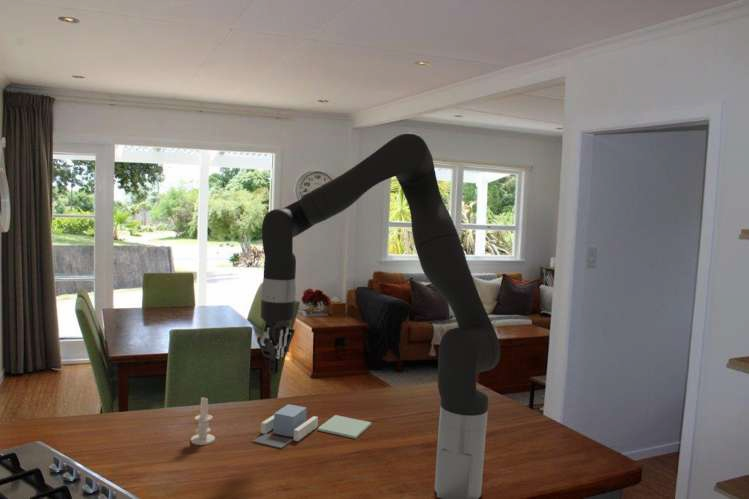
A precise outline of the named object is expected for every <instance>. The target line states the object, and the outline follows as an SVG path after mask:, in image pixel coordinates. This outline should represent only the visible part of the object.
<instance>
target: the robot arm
mask: <svg viewBox="0 0 749 499" xmlns="http://www.w3.org/2000/svg"><path fill="white" fill-rule="evenodd" d="M425 141H426V140H424V138H423V137H421V136H420V135H418V134H417V133H414V132H404V133H403V132H402V133H400V134H398V135H397V136H394V137H393V138H391V139H390V140H389V141H387V142H386V143H384V144H383V145H382V146H381V147H380V148H378V149H377V150H376V151H375V152H373V153H372V154H370V155H368V156H367V157H366V158H364V159H362V161H360V162H359V163H357V164H356V165H355V166H353V167H351V168H350V169H348V170H346V171H345V172H344V173H342V174H341V175H340V174H339V176H337V177H335V178H333V179H331V180H329V181H328V182H326V183H324V184H322V185H320V186H317V187H316V188H314V189H313V190H310V191H308V192H307V193H306V194H304V195H303V196H302V197H301V198H300V199H299V200H297V201H294V202H292V203H290V204H289V205H286V206H284V207H282V208H275V209H271V210H269V211H268V212H267V213H266V214H265V216H264V218H263V221H262V223H261V238H262V239H261V240H262V250H263V253H264V254H263V255H264V262H263V280H262V284H261V298H260V299H261V300H260V318H261V319H262V320H263V321H264V322H265V323H264V328H263V332H264V333H263V335H262V336H258V337H257V340H256V342H257V344H258V346H259V348H260V351H261V353H262V355H263V357H266V358H269V363H268V364H269V366H268V373H269V374H270V375H274V376H277V375H279V374H281V373H282V372H281V370H282V358H283V357H284V353H285V354H286V353H288V350H289V348H290V345H291V343H292V339H293V337H294V335H295V329H294V328H291V327H290V326H291V324H290V321H293V320H294V319H295V315H296V313H295V312H296V310H295V309H296V296H297V294H296V292H297V291H296V290H297V288H296V272H297V271H296V270H297V269H296V268H297V261H296V260H297V259H296V258H297V257H296V255H295V254H294V252H293V249H294V248H293V246H294V245H293V240H294V239H293V238H295V237H297V236H299V235H301V234H302V233H303V232H306V231H307V230H309V229H310V228H311V227H313V226H315V225H316V224H319V223H322V222H323V221H326V220H328V219H330V218H332V217H334V216H336V215H337V214H340V213H342V212H343V211H346V209H348V208H349V207H351V206H352V205H353V204H354V203H356V202H357V201H358V200H359V199H360V198H361V197H362V196H363V195H364V194H365V193H367V192H368V191H369V190H371V189H372V188H373V187H375V186H376V185H378V184H380V183H382V182H384V181H387V180H389V179H391V178H396V180H397V181H398V184H399V185H400V187H401V188H400V189H401V190H402V192H403V194H404V196H405V199H406V202H407V205H408V208H409V213H410V219H411V220H410V222H411V233H412V239H413V244H414V248H415V250H416V251H415V252H416V254H417V257H418V261H419V263H420V266H421V269H422V271H423V274H424V275H425V277H426V278H427V280H428V281H429V282H430V284H431V285H432V286H433V287H434V289H436V290H437V292H439V294H440V295H441V296H442V297H443V299H444V300H445V302H447V304H448V305H449V307H450V308H451V310H452V314H454V318H455V321H456V324H457V326H458V327H455V328H451V329H448V330H447V331H446V332H444V334H443V335H442V337H441V340H440V342H439V346H438V355H437V356H438V357H437V358H438V359H437V365H438V366H437V389H438V393H439V395H440V396H439V397H440V406H439V419H438V432H437V433H438V434H437V446H436V458H435V459H436V460H435V462H436V463H435V473H434V474H435V475H434V476H435V478H434V488H433V489H434V491H435V493H436V498H438V499H479V498H481V495H482V487H483V476H484V475H483V472H484V462H485V461H484V460H485V449H486V448H485V447H486V446H485V445H486V436H487V426H488V425H487V423H488V410H489V397H488V395H487V393H486V392H484V391H483V390H481V389H478V388H477V374H478V373H483V372H487V371H490V370H492V369H494V368H495V367H496V366H497V364H499V362H500V358H501V346H500V341H499V336H498V335H497V332H496V330H495V326H493V323H492V321H491V320H490V317H489V315H488V313H487V310H486V308H485V305H484V304H483V302H482V299H481V297H480V295H479V292H478V289H477V287H476V286H477V285H476V282H475V280H474V277H473V276H472V272H471V269H470V266H469V264H468V261H467V258H466V255H465V254H466V253H465V250H464V247H463V244H462V242H461V238H460V236H459V234H458V231H457V228H456V226H455V224H454V221H453V219H452V216H451V214H450V213H449V210H448V209H447V206H446V205H445V202H444V200H443V198H442V194H441V191H440V188H439V183H438V180H437V174H436V170H435V164H434V159H433V155H432V153H431V151H430V148H429V146H428V144H427V143H426V142H425Z"/></svg>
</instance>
